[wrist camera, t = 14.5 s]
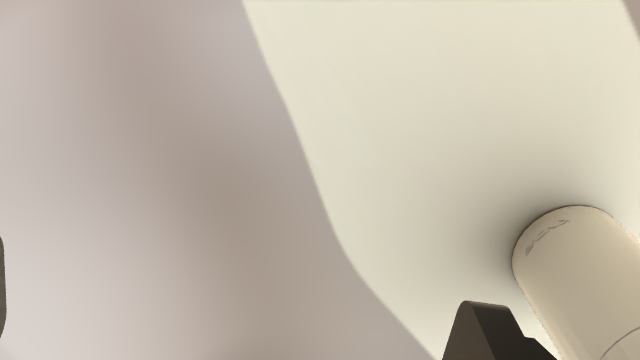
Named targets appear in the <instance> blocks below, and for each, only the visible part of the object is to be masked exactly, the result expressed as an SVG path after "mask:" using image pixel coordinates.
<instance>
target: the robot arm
mask: <svg viewBox="0 0 640 360" xmlns="http://www.w3.org/2000/svg"><path fill="white" fill-rule="evenodd" d="M512 270H513V274H514V277H515V280H516V281H517V283H518V285H519V286H520V288H521V290H522V291H523V293H524V295H525V296H526V298H527V300H528V301H529V303H530V305H531V307H532V308H533V310H534V312H535V314H536V315H537V317H538V319H539V320H540V322H541V324H542V325H543V327H544V329H545V330H546V332H547V334H548V335H549V337H550V339H551V340H552V342H553V344H554V345H555V347H556V349H557V351H558V352H559V354H560V356H561V357H562V359H563V360H640V243H639V242H638V241H637V240H636V239H635V238H634V237H633V236H632V235H631V234H630V233H629V232H628V231H627V230H626V229H624V228H623V227H622V226H621V225H620V224H619V223H618V222H617V221H616V220H615V219H614V218H613V217H612V216H610V215H608V214H607V213H605V212H604V211H602V210H599V209H596V208H594V207H588V206H568V207H564V208H560V209H556V210H554V211H551V212H549V213H547V214H545V215H543V216H542V217H540V218H539V219H537V220H536V221H534V222H533V223H532V224H531V225H530V226H529V227H528V228H527V229H526V230H525V231H524V232H523V234H522V235H521V237H520V238H519V240H518V242H517V244H516V246H515V249H514V252H513V257H512ZM5 320H6V289H5V267H4V247H3V242H2V239H1V237H0V337H1V334H2V332H3V329H4V325H5ZM442 360H557V359H556V358H555V357H554V356H553V355H552V354H551V353H549V352H548V351H547V350H546V349H545V348H544V347H543V346H542V345H541V344H540V343H539V342H538V341H537V340H536V339H534V338H528V337H524V335H523V333H522V331H521V329H520V327H519V325H518V324H517V322H516V320H515V318H514V316H513V314H512V312H511V311H510V309H509V308H508V307H506V306H502V305H495V304H488V303H481V302H473V301H463V302H462V303H461V305H460V306H459V308H458V311H457V314H456V317H455V320H454V323H453V327H452V330H451V333H450V336H449V339H448V342H447V346H446V349H445V352H444V355H443V358H442Z"/></svg>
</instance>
